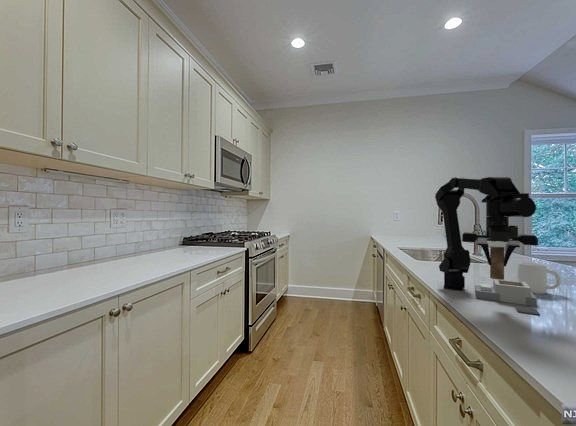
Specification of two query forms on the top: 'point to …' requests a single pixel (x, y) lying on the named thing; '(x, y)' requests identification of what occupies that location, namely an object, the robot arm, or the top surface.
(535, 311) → the pad
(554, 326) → the top surface
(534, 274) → the mug
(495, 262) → the dowel
